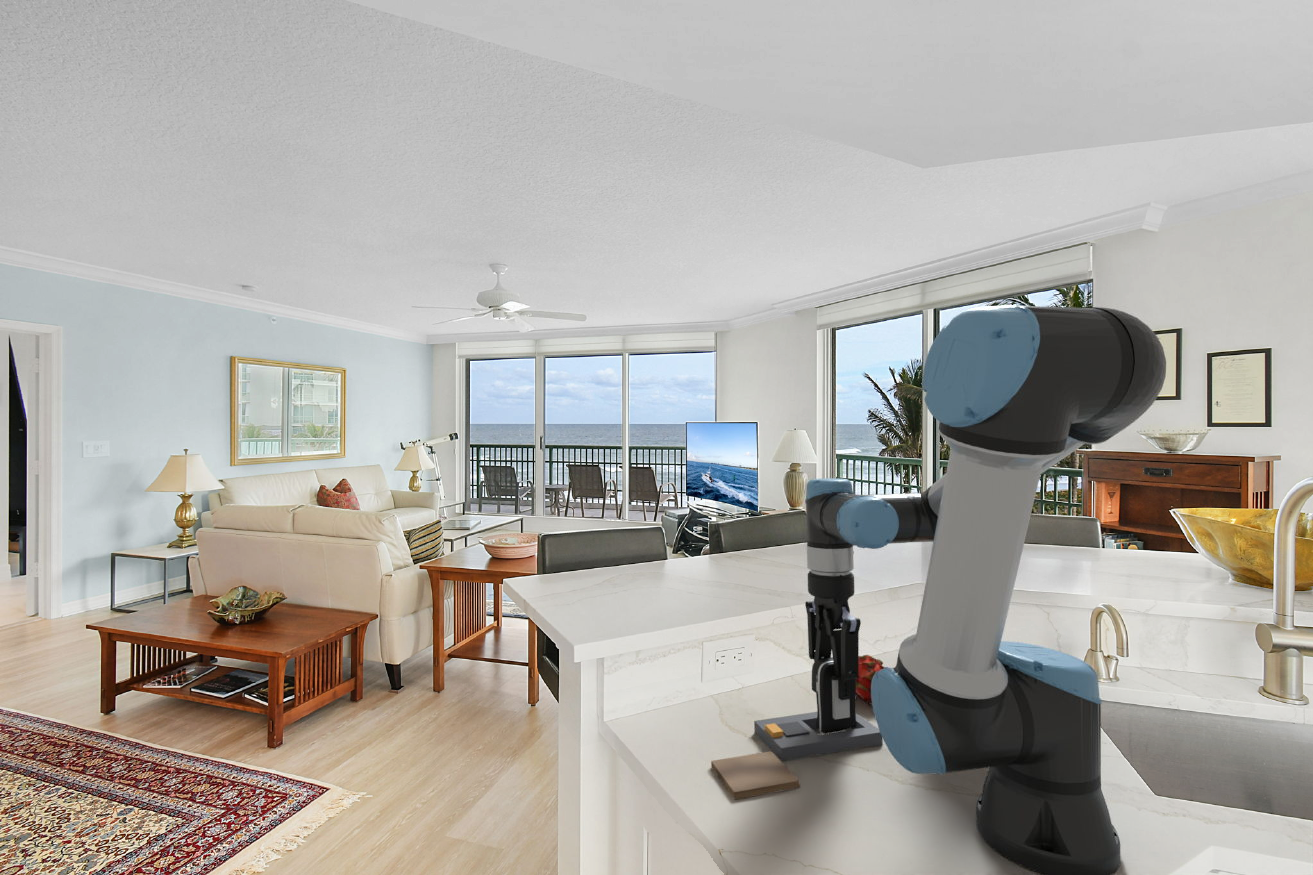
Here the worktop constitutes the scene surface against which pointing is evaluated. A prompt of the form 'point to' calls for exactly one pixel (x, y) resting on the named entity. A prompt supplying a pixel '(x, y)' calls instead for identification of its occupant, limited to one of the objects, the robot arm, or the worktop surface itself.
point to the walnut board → (754, 775)
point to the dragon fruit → (867, 676)
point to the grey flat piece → (812, 736)
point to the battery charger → (830, 698)
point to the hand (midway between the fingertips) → (833, 711)
